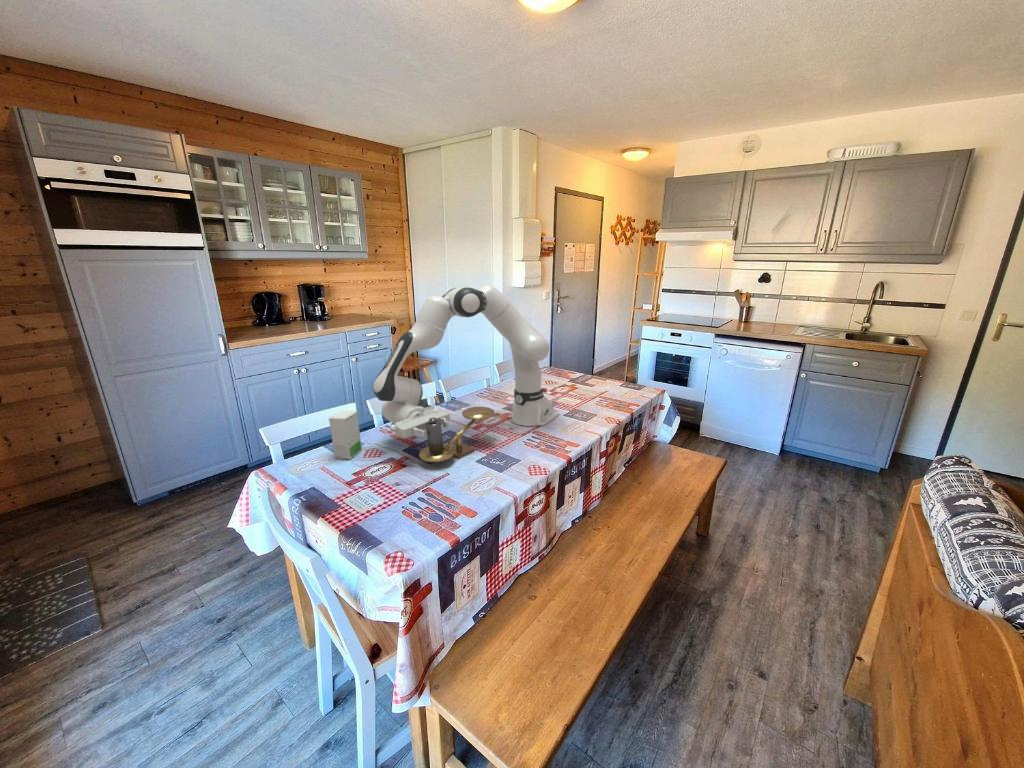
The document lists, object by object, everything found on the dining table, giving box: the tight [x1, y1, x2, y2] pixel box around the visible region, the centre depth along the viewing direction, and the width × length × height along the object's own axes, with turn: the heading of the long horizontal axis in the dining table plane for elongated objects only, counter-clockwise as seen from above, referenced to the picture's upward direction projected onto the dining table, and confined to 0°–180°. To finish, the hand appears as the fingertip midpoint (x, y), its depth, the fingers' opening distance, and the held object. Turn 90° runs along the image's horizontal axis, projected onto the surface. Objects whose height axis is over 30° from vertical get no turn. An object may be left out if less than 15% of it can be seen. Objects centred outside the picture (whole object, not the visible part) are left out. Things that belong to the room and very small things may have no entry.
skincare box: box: [328, 410, 363, 460], centre depth 146 cm, size 8×7×16 cm
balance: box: [418, 406, 495, 463], centre depth 148 cm, size 32×12×13 cm, turn 138°
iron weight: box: [426, 418, 444, 456], centre depth 139 cm, size 5×5×12 cm
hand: (436, 429), depth 138 cm, fingers open, 8 cm apart
